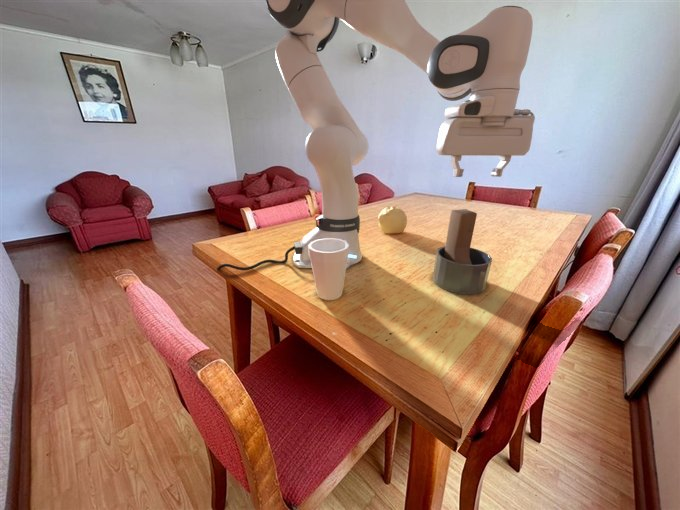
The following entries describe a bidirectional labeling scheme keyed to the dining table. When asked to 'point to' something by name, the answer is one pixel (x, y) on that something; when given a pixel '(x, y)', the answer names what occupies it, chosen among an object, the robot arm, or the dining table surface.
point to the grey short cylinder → (462, 272)
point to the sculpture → (392, 220)
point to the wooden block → (460, 236)
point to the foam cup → (329, 266)
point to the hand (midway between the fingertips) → (476, 176)
